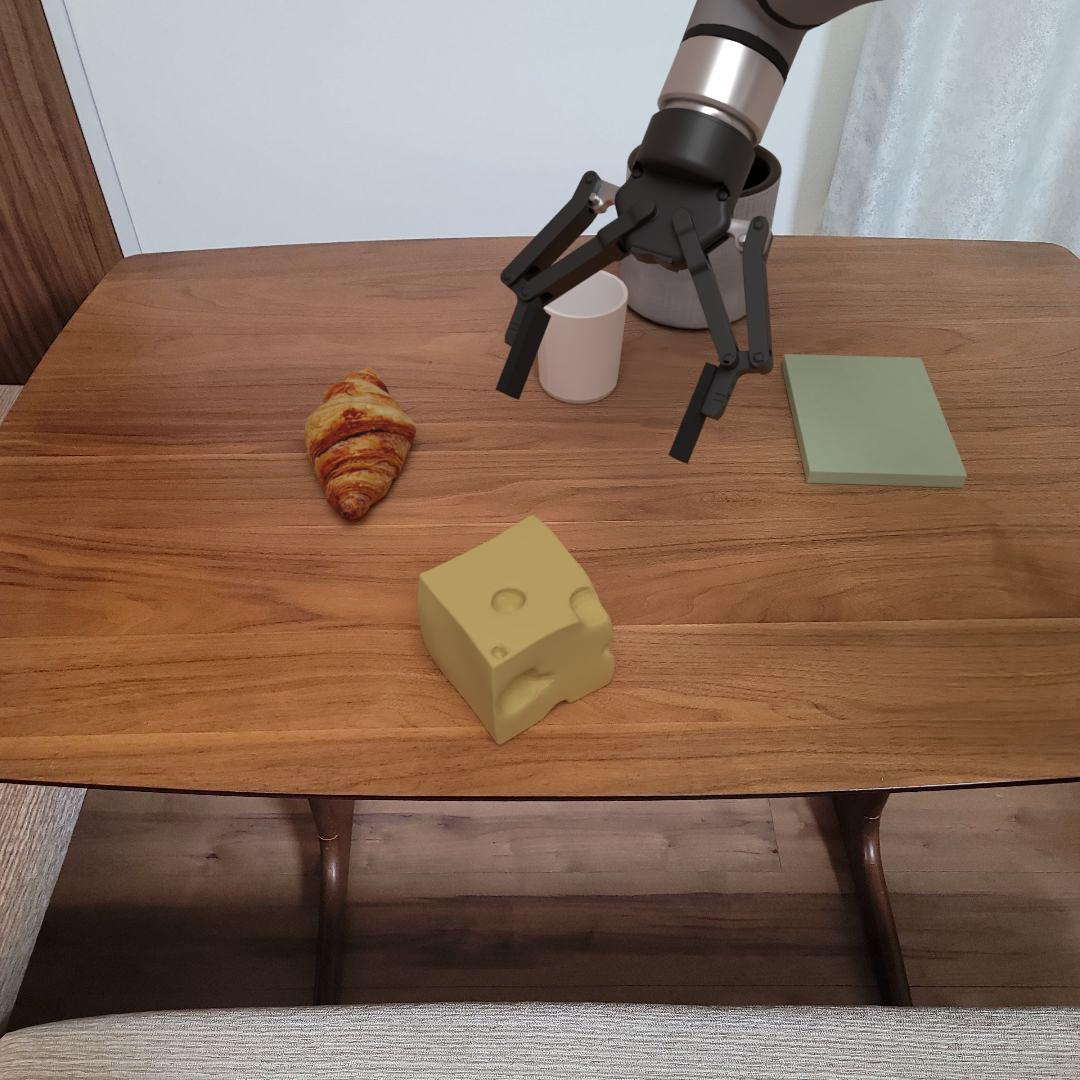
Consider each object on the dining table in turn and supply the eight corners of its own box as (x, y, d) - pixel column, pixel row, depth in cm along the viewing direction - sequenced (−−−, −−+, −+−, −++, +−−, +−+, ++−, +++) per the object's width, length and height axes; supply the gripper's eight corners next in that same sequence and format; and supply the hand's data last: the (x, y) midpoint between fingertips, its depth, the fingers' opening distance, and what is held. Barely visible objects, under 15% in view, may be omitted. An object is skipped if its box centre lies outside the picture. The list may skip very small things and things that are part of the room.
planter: (634, 342, 100) (645, 204, 88) (604, 265, 111) (611, 134, 99) (777, 328, 101) (806, 192, 90) (734, 254, 112) (755, 124, 101)
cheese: (614, 684, 69) (622, 598, 62) (493, 756, 65) (486, 673, 58) (536, 596, 75) (535, 508, 68) (420, 657, 71) (406, 570, 64)
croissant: (345, 414, 97) (295, 359, 92) (426, 372, 94) (380, 313, 89) (331, 561, 82) (271, 505, 77) (426, 516, 79) (371, 455, 74)
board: (962, 488, 84) (967, 475, 83) (806, 483, 84) (809, 471, 83) (916, 369, 96) (921, 357, 95) (781, 365, 97) (783, 353, 96)
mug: (638, 374, 96) (646, 286, 88) (590, 419, 91) (593, 329, 83) (551, 338, 100) (552, 251, 93) (501, 379, 95) (497, 291, 88)
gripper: (889, 197, 61) (765, 494, 64) (564, 117, 70) (465, 380, 72) (887, 147, 54) (748, 483, 57) (527, 66, 63) (418, 359, 66)
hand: (589, 426), depth 65 cm, fingers open, 13 cm apart
